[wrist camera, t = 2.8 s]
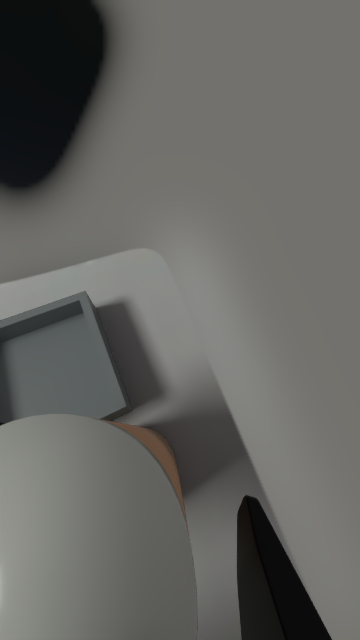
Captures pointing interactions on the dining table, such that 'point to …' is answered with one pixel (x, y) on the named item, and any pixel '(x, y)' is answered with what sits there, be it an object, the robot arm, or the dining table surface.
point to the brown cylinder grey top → (92, 533)
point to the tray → (59, 364)
